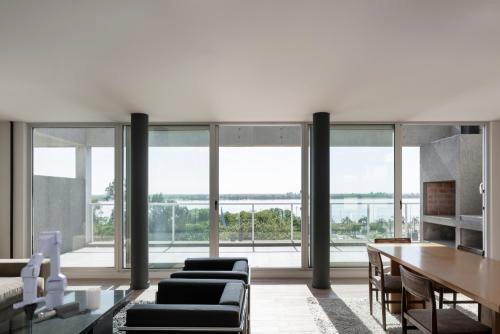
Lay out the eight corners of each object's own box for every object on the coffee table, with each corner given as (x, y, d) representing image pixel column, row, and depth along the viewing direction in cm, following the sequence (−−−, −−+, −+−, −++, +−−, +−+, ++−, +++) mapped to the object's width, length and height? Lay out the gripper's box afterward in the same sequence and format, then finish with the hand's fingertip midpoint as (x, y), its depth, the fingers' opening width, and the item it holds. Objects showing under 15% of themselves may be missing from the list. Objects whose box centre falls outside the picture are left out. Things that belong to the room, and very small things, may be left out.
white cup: (95, 309, 201) (95, 290, 202) (82, 309, 203) (82, 290, 204) (104, 305, 209) (104, 287, 210) (91, 305, 211) (91, 287, 212)
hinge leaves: (65, 318, 188) (65, 309, 189) (46, 314, 196) (46, 306, 197) (86, 311, 198) (86, 303, 199) (67, 308, 207) (67, 300, 207)
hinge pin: (42, 321, 185) (42, 313, 185) (37, 320, 186) (38, 312, 187) (68, 313, 197) (68, 306, 197) (64, 312, 198) (64, 305, 199)
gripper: (19, 295, 174) (18, 325, 173) (49, 288, 187) (49, 316, 185) (11, 294, 178) (10, 323, 177) (41, 287, 190) (40, 315, 189)
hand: (29, 320), depth 181 cm, fingers closed
